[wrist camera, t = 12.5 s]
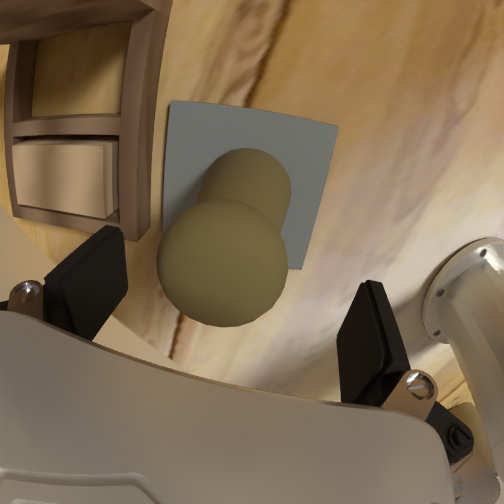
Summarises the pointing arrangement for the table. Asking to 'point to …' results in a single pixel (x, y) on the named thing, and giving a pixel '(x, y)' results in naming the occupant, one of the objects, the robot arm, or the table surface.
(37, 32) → the open walnut box
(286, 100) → the table surface
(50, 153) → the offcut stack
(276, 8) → the table surface
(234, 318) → the olive pawn
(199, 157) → the slate mat
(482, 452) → the plant pot
